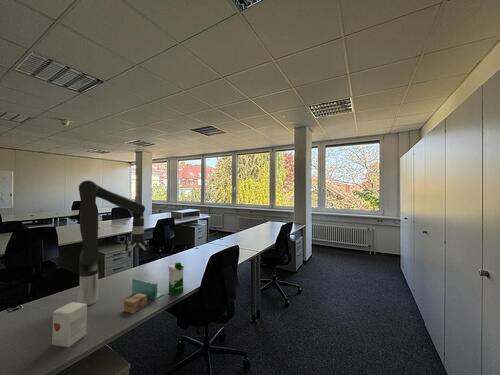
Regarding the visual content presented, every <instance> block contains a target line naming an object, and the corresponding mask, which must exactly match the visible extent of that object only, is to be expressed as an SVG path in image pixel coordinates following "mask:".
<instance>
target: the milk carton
mask: <svg viewBox="0 0 500 375" xmlns="http://www.w3.org/2000/svg"><path fill="white" fill-rule="evenodd" d="M184 269H185V265H184V264H182V263H181V262H175V263H174V264H170V265H168V273H169V274H168V293H169V294H171V295H173V296H177V295H179V294H181V293H184Z"/></svg>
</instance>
